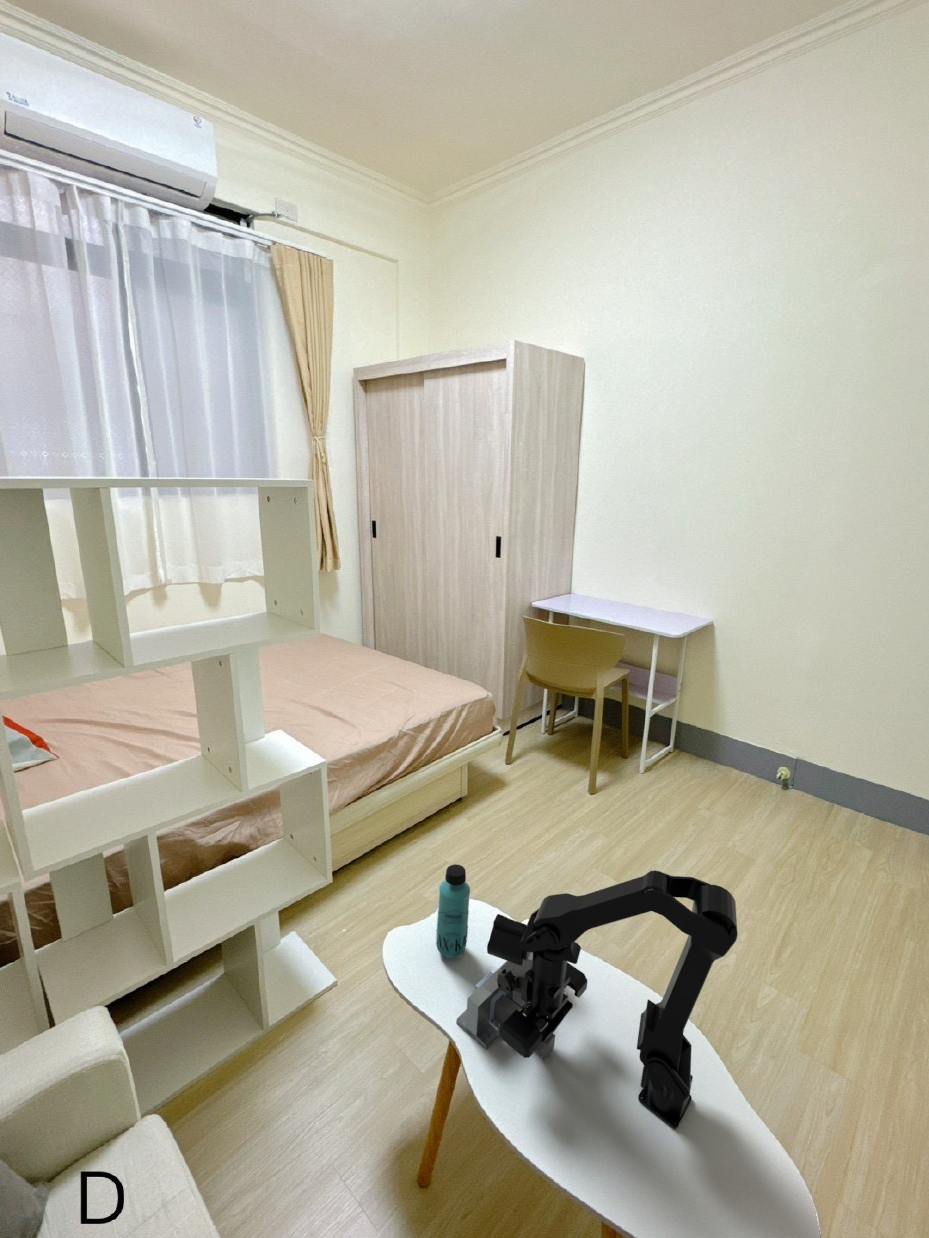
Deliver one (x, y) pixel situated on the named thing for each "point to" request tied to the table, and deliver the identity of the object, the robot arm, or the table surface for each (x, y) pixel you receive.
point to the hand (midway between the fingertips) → (540, 1043)
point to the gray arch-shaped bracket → (484, 1011)
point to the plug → (504, 1006)
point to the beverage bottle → (453, 912)
